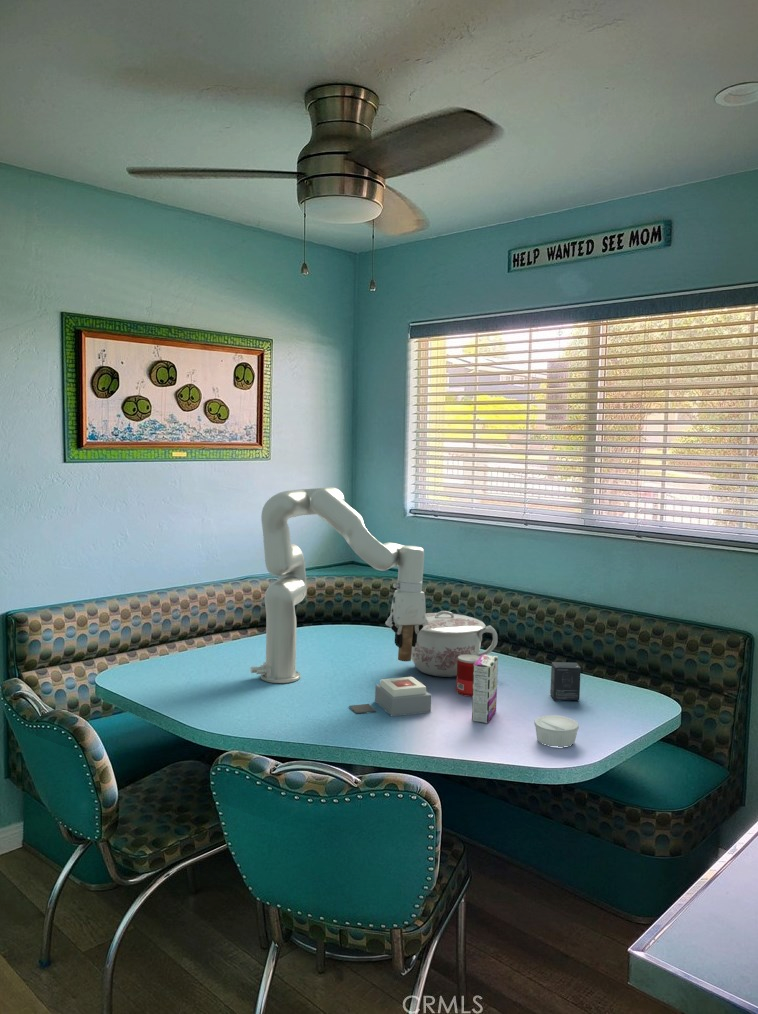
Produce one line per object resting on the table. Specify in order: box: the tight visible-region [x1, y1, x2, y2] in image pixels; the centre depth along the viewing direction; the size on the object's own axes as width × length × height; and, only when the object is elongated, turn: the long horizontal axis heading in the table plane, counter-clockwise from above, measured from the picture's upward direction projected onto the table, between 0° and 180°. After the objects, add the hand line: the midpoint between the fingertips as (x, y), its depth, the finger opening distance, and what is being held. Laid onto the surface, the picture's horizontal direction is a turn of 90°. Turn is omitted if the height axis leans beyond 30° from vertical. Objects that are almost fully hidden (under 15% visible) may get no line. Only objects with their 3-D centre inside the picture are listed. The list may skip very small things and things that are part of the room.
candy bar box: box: [471, 654, 499, 725], centre depth 220 cm, size 11×5×16 cm, turn 160°
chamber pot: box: [411, 610, 499, 678], centre depth 262 cm, size 28×28×21 cm
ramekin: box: [534, 714, 580, 747], centre depth 204 cm, size 11×11×5 cm
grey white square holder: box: [374, 676, 432, 717], centre depth 227 cm, size 12×13×7 cm
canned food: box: [455, 654, 480, 697], centre depth 241 cm, size 8×8×11 cm
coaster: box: [348, 703, 377, 715], centre depth 223 cm, size 6×6×1 cm
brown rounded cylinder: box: [397, 625, 413, 662], centre depth 238 cm, size 4×4×14 cm
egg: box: [395, 681, 411, 687], centre depth 227 cm, size 5×5×4 cm
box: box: [549, 661, 582, 701], centre depth 239 cm, size 8×6×11 cm
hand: (405, 645), depth 238 cm, fingers closed on brown rounded cylinder, 4 cm apart
